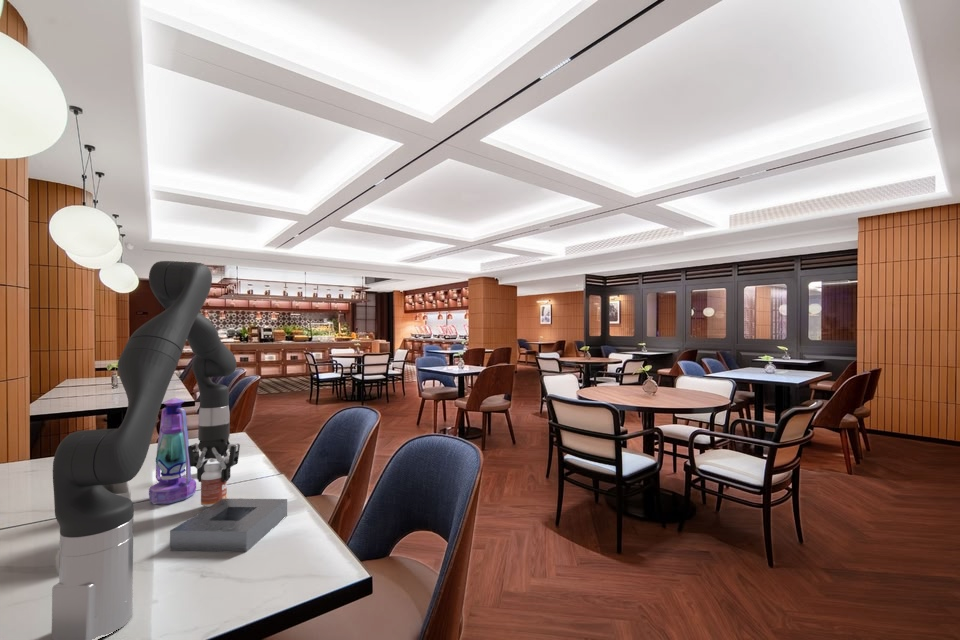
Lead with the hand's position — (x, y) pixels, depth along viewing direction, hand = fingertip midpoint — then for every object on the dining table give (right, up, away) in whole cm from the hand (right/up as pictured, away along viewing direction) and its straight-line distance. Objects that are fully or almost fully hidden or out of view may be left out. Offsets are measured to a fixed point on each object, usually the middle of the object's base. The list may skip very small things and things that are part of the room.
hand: (213, 480), depth 117 cm
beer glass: (-18, -9, +30) cm, 36 cm away
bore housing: (+14, -7, -15) cm, 22 cm away
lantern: (-17, -8, +7) cm, 20 cm away
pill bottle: (0, -6, 0) cm, 6 cm away
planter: (-12, -7, -23) cm, 26 cm away
